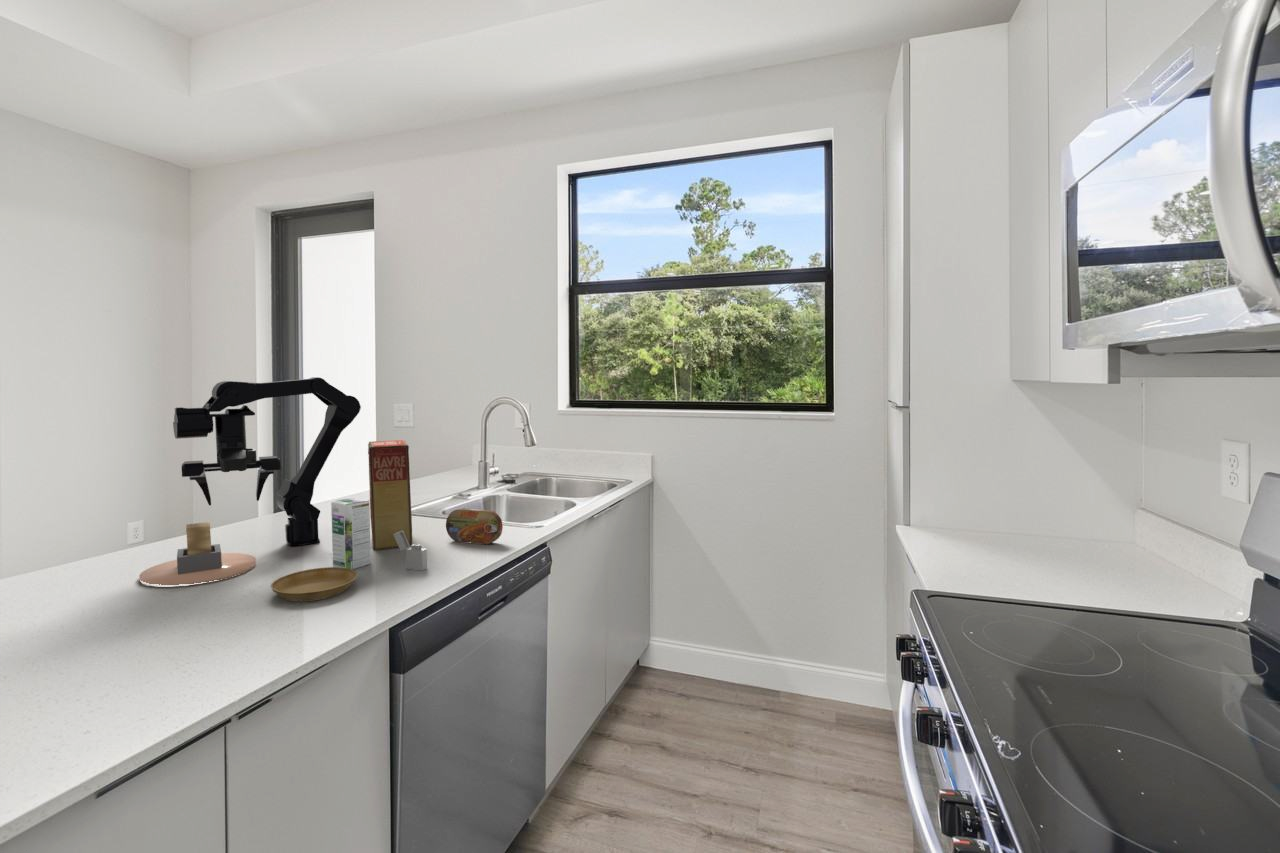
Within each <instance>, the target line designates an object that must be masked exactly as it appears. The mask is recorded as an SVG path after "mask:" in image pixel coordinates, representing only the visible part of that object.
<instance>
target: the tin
mask: <svg viewBox="0 0 1280 853" xmlns="http://www.w3.org/2000/svg"><path fill="white" fill-rule="evenodd" d="M445 529H446V532H447V535H448V536H449V538H450V539H451V540H453V541H454V542H456V541H457V542H456V543H461V542H471V543H470V544H473V543H481V544H480V545H484V544H486V545H490V544H492V543H493V542H496V541H497V540H498V539H499V538H500V537H501V535H502V533H503V529H504V528H503V521H502V518H501V517H500V515H499V514H498V513H497V512H495V511H493V510H491V509H490V510H489V509H476V508H475V509H474V508H473V509H472V508H459V509H455V510H453V511H451V512H450V513H449V515H448V516H447V518H446V521H445Z"/></svg>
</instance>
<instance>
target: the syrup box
mask: <svg viewBox="0 0 1280 853" xmlns="http://www.w3.org/2000/svg"><path fill="white" fill-rule="evenodd" d="M330 511H331V512H330V513H331V542H332V543H331V544H332V548H331V550H332V551H331V552H332V567H339V568H347V569H351V570H356V569H359V568H362V567H364V566H365V567H366V566H368V565H370V564H371V563H372V561H371V560H372V556H371V550H372V549H371V548H372V547H371V516H370V499H369V500H365V499H358V498H353V497H352V498H351V497H350V498H342V499H336V500H334V501H331V509H330Z"/></svg>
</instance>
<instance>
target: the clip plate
mask: <svg viewBox="0 0 1280 853" xmlns="http://www.w3.org/2000/svg"><path fill="white" fill-rule="evenodd" d="M255 565H257V560H256V557H255V556H253V555H251V554H247V553H240V552H239V553H238V552H222V549H221V544H220V543H217V544H211V552H208V553H201V554H193V555H188V549H187V547H186V548H185V547H184V548H178V549H177V554H176V559H173V560H170V561H167V562H166V561H165V562H163V563H159V564H155V565H153V566H150V567H149V568H146V569H145V570H143V571H142V572H140V574H139V576H138V579H140V580H141V581H143V582H146V583H149V584H159V585H160V584H161V585H179V584H194V583H201V582H209V581H214V580H221V579H225V578H229V577H232V576H235V575H238V574H241V575H243V574H245V573H244V572H246V571H248V570H250V569H251V570H252V568H253V567H254V566H255ZM255 567H256V566H255ZM255 567H254V568H255ZM254 568H253V569H254ZM251 570H250V571H251ZM248 572H249V571H248ZM242 573H243V574H242ZM246 573H247V572H246ZM238 576H239V575H238ZM235 577H236V576H235ZM232 578H233V577H232ZM229 579H230V578H229ZM140 580H139V581H140ZM225 580H226V579H225ZM221 581H222V580H221Z"/></svg>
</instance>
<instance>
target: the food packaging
mask: <svg viewBox="0 0 1280 853" xmlns="http://www.w3.org/2000/svg"><path fill="white" fill-rule="evenodd" d="M367 446H368V448H367V450H368V451H367V452H368V478H369V479H368V480H369V501H370V530H371V541H372V542H371V544H372V550H373V551H379V550H380V551H382V550H390V549H391V550H392V549H399V546H398V544H397V542H396V540H395V537H394V534H395V533H397V532H399V531H402V530H403V532H404V534H405V536H406V538H407V541H408V543H409V545H410V547H411V545H412V544H413V518H412V516H413V515H412V500H411V499H412V498H411V478H410V476H411V475H410V455H409V452H410V451H409V450H410V449H409V448H410V446H409V445H408V443H407V442H406V440H404V439H402V440H400V439H399V440H394V439H393V440H375V441H374V440H373V441H368V444H367Z"/></svg>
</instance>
